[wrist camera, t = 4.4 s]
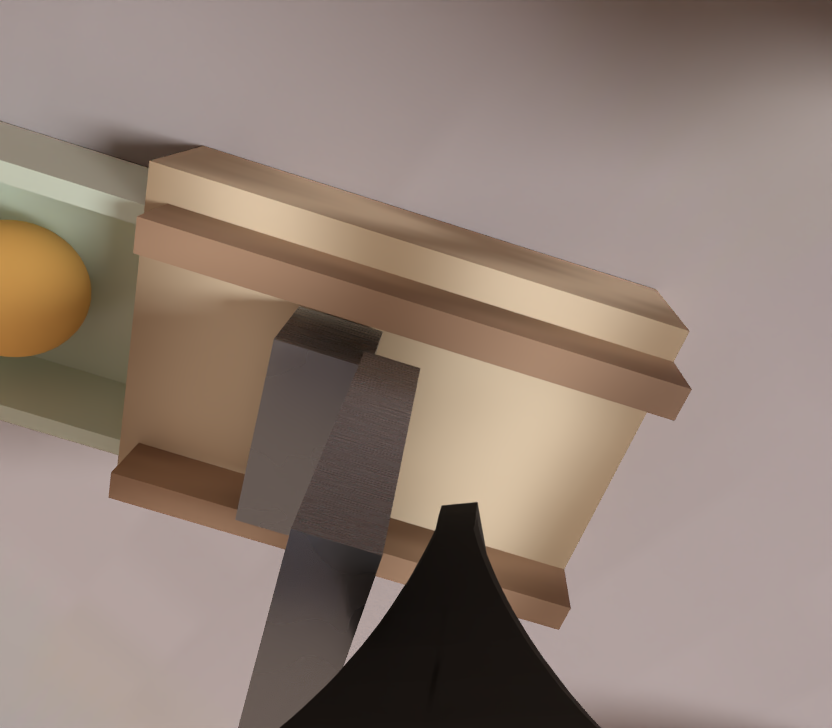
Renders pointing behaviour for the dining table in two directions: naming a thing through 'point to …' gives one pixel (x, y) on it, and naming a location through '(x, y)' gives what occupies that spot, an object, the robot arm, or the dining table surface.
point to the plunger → (321, 498)
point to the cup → (109, 275)
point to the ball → (39, 289)
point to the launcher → (402, 341)
